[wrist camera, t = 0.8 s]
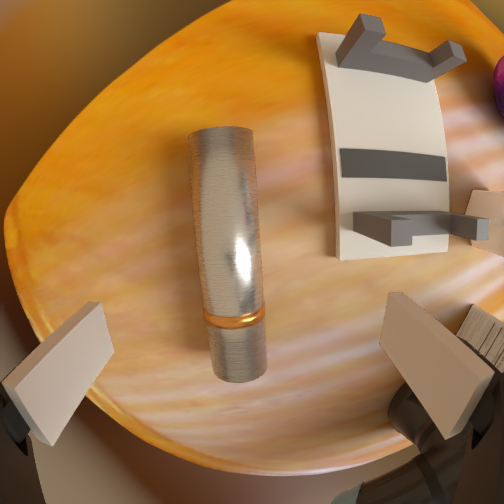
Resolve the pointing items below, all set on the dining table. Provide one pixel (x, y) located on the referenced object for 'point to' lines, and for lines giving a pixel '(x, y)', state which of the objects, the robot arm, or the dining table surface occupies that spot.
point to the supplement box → (484, 335)
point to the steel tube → (229, 250)
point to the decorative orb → (499, 85)
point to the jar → (496, 210)
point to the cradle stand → (389, 145)
